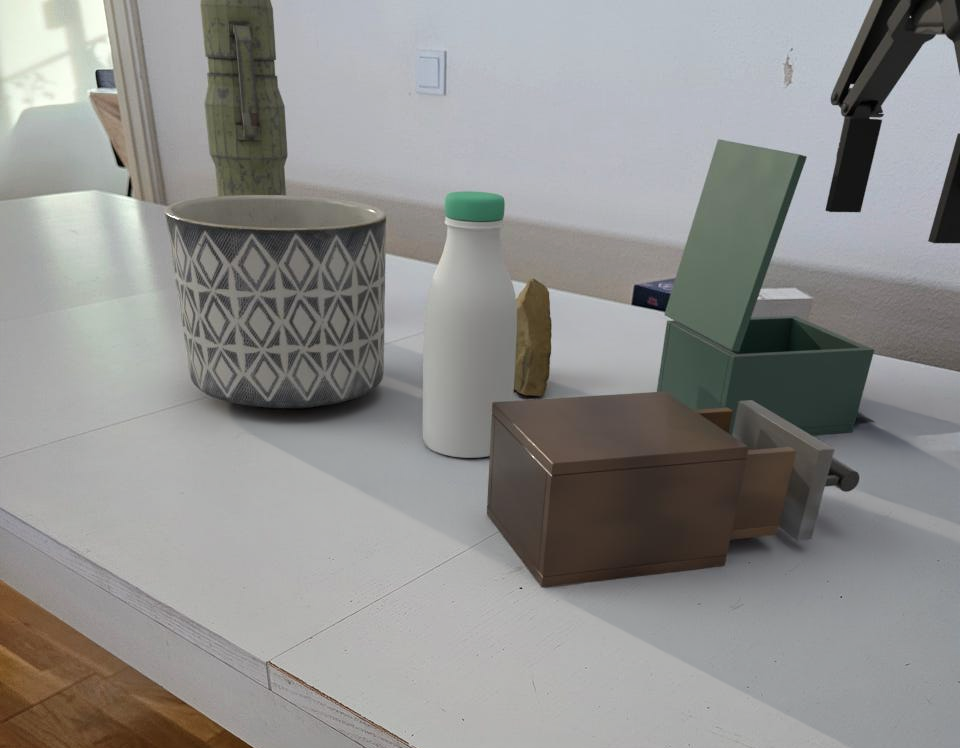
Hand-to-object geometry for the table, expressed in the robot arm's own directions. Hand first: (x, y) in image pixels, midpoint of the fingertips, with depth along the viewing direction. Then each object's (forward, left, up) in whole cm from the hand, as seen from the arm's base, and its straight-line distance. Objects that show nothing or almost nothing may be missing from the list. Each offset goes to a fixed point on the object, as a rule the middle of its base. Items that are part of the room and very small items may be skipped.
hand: (891, 226), depth 69 cm
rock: (+18, -29, -20) cm, 39 cm away
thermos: (+40, -62, -20) cm, 76 cm away
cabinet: (+24, +7, -20) cm, 32 cm away
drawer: (+15, +7, -19) cm, 25 cm away
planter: (+41, -30, -20) cm, 55 cm away
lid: (+4, -15, -4) cm, 16 cm away
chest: (-2, -15, -20) cm, 24 cm away
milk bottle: (+28, -13, -20) cm, 37 cm away
